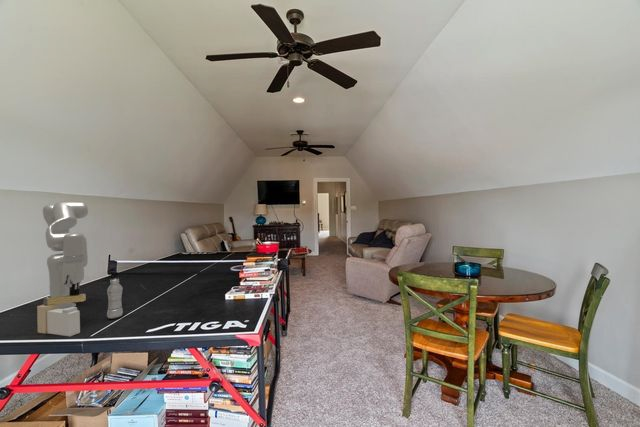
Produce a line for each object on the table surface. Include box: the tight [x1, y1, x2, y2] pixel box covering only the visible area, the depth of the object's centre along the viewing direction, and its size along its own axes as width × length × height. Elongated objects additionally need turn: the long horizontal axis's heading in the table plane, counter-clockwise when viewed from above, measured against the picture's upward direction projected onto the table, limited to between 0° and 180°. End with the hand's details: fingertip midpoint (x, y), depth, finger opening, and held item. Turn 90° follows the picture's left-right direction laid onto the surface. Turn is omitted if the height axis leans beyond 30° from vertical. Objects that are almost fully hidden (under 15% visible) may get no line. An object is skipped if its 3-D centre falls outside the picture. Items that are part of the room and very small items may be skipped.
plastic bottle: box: [106, 277, 124, 320], centre depth 144 cm, size 6×7×20 cm
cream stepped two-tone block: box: [36, 304, 81, 337], centre depth 127 cm, size 20×5×12 cm, turn 75°
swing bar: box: [43, 293, 87, 305], centre depth 131 cm, size 15×3×3 cm, turn 109°
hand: (74, 297), depth 134 cm, fingers closed
